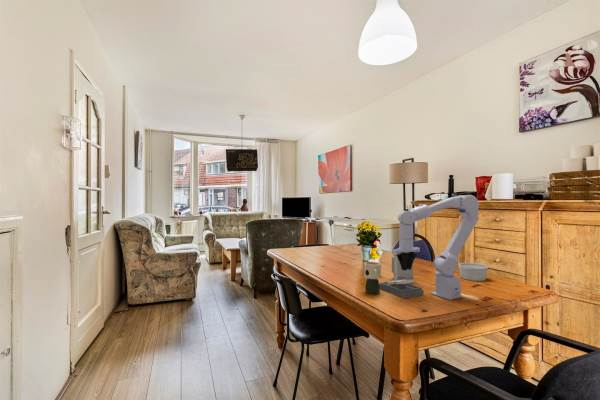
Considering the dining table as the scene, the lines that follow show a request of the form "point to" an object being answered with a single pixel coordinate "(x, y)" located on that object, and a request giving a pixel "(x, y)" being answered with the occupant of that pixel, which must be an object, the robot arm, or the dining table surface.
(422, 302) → the dining table surface
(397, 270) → the circuit breaker
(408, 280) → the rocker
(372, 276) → the character mug
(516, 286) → the dining table surface
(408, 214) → the robot arm
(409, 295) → the breaker panel
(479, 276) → the ramekin
